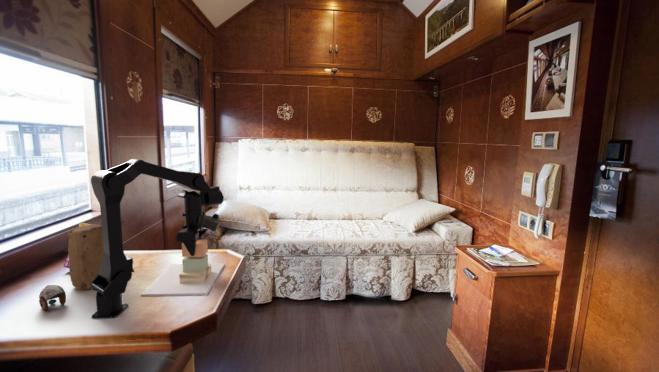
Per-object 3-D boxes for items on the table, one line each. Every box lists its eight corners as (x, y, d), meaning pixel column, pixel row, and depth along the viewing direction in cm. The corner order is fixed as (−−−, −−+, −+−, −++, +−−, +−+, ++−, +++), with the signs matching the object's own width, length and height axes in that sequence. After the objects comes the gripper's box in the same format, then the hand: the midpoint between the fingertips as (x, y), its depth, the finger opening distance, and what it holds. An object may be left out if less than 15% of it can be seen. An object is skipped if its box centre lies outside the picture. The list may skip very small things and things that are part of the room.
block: (82, 293, 100) (76, 231, 97) (68, 288, 104) (62, 228, 101) (117, 280, 110) (113, 223, 107) (104, 275, 113) (99, 220, 110)
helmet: (61, 305, 96) (53, 283, 96) (75, 300, 92) (67, 277, 92) (37, 315, 90) (29, 292, 90) (51, 310, 87) (42, 286, 87)
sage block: (204, 271, 110) (203, 259, 110) (182, 272, 109) (182, 259, 109) (208, 266, 115) (207, 254, 114) (187, 266, 114) (187, 254, 114)
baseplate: (207, 294, 102) (207, 293, 102) (140, 296, 100) (140, 294, 100) (224, 265, 125) (224, 263, 125) (171, 265, 123) (171, 264, 123)
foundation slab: (204, 282, 109) (203, 274, 108) (179, 283, 108) (179, 274, 108) (211, 271, 118) (211, 263, 117) (188, 272, 117) (188, 264, 116)
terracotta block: (203, 256, 109) (203, 244, 109) (182, 256, 109) (181, 244, 108) (207, 251, 114) (207, 239, 114) (187, 251, 114) (186, 239, 113)
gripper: (210, 215, 101) (211, 263, 103) (224, 203, 119) (225, 244, 121) (173, 215, 100) (175, 263, 102) (193, 203, 118) (194, 244, 120)
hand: (195, 252), depth 111 cm, fingers closed on terracotta block, 5 cm apart
